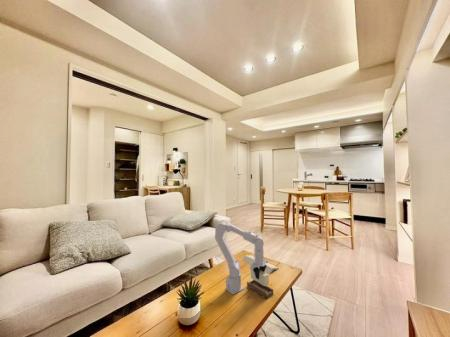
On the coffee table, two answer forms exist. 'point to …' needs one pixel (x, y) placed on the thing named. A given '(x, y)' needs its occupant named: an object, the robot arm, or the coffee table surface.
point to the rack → (260, 289)
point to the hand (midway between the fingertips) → (259, 277)
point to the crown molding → (251, 260)
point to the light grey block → (261, 278)
